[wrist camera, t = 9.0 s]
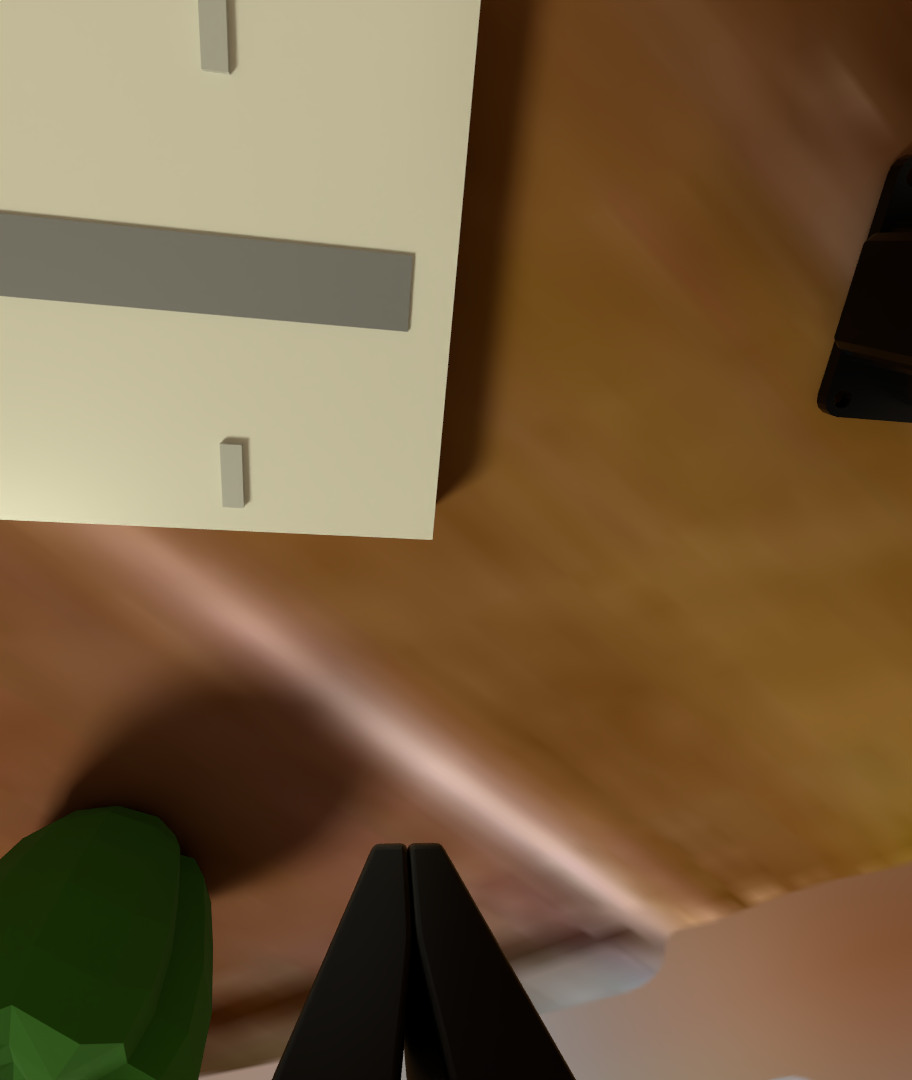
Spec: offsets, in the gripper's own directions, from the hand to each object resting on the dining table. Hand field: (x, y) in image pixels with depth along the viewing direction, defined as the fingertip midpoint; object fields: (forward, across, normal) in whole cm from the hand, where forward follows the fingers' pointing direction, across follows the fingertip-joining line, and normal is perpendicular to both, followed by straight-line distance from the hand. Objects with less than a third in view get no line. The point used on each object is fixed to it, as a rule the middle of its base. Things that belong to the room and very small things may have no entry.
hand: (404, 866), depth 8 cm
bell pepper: (+12, +9, +14) cm, 21 cm away
